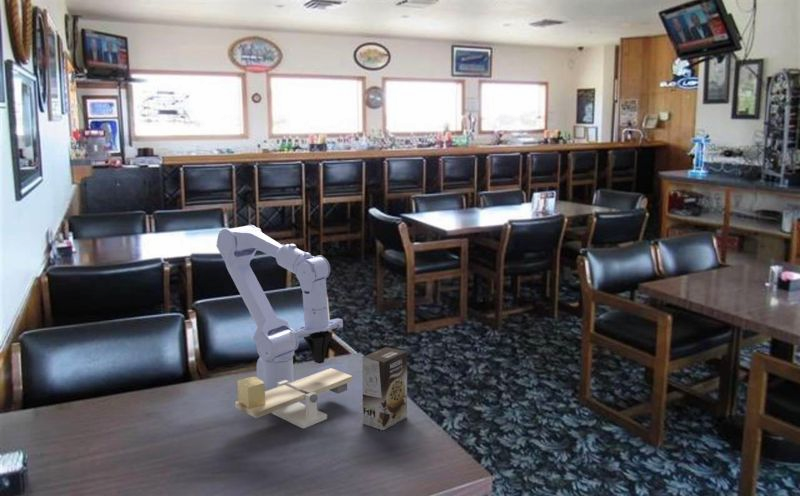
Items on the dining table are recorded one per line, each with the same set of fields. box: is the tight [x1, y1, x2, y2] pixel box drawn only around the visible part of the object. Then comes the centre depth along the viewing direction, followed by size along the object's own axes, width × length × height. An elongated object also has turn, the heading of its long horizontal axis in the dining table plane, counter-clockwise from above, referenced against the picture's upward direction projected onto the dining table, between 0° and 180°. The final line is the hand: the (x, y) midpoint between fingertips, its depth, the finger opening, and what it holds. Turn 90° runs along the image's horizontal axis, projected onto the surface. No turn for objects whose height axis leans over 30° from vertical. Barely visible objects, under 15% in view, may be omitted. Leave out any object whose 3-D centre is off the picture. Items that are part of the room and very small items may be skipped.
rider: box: [236, 375, 266, 409], centre depth 143 cm, size 5×5×4 cm
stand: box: [270, 380, 328, 429], centre depth 152 cm, size 13×7×7 cm, turn 47°
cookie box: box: [362, 346, 408, 431], centre depth 149 cm, size 9×6×16 cm
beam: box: [234, 367, 354, 419], centre depth 152 cm, size 8×28×4 cm, turn 137°
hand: (319, 362), depth 158 cm, fingers closed
